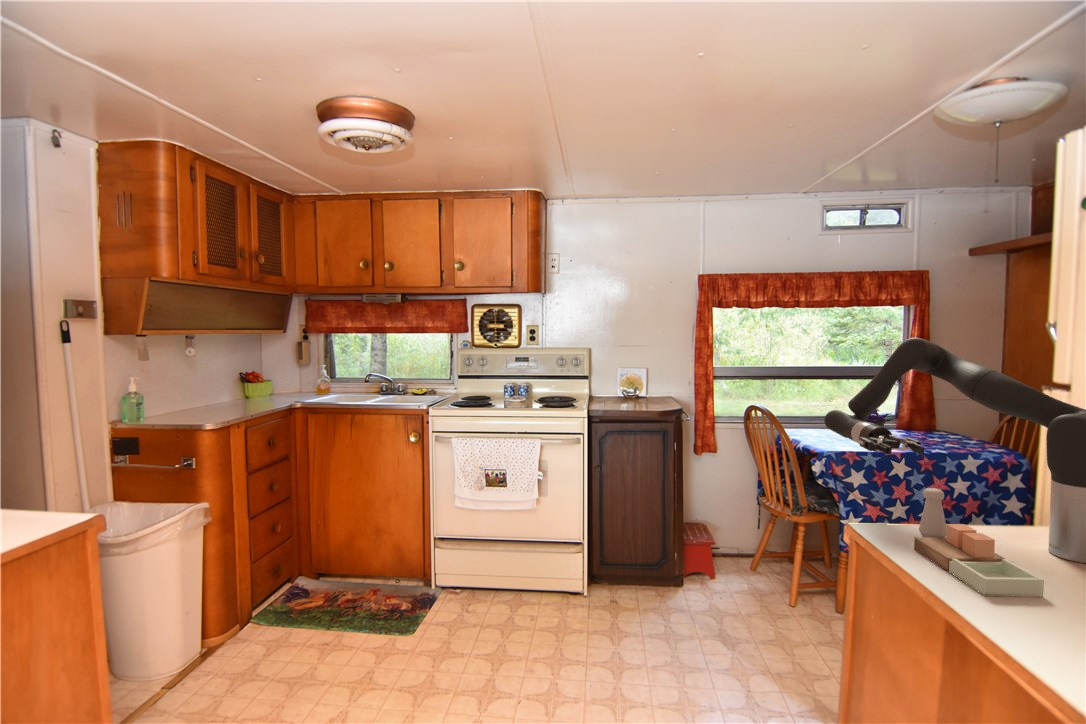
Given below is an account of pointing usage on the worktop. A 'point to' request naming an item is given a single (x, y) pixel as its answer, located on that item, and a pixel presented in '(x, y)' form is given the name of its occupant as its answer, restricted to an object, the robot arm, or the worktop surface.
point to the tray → (998, 578)
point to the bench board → (946, 551)
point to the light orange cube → (957, 533)
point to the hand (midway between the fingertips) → (906, 450)
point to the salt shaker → (933, 514)
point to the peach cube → (978, 545)
